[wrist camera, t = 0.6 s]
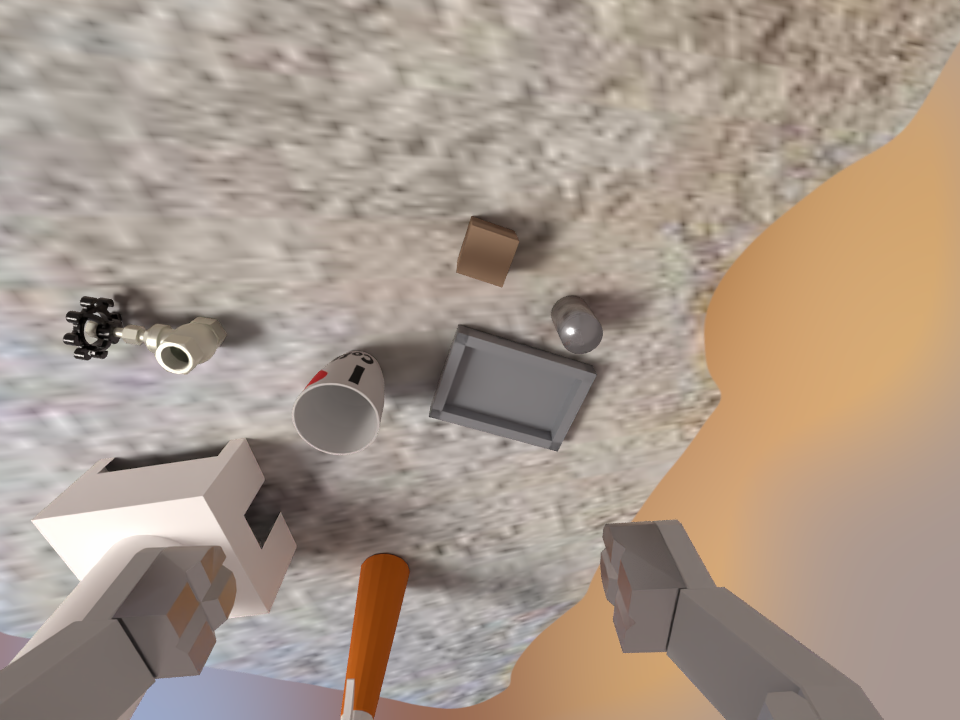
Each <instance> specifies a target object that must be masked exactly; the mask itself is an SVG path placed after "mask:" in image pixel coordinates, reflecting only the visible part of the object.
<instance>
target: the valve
mask: <svg viewBox="0 0 960 720" xmlns="http://www.w3.org/2000/svg"><path fill="white" fill-rule="evenodd" d="M95 303H96V306H95V305H94V304H95ZM80 304H81V306H82V307H83V309H82V311H81V312H76V311H69V312H68V313H67V314H66V320H67V321H68V322H70V323H73V325H74V326H73V331H72V333H67V334H65V335H64V337H63V342H64V343H65V344H67V345H73V346H78V348H77V349H76V350H75V351H74V357H75V358H76V359H81V360H90V359H91V358H92V357H94V358H100V359H104V358H106V357H107V354H108V351H105V350H107V349H108V348H109V347H110V345H111V344H116V343H118V341H119V339H120V338H122V339H123V340H124V341H125V342H126V343H129V344H135V345H141V344H142V343H144V344H145V345H146V346H147V348H148V350H149V351H150V352H152V353H155V354H154V355H155V357H156V359H157V360H158V362H159V363H160V365H161V366H162V367H163V368H164V369H165V370H166V371H168V372H171V373H177V374H188V373H189V372H190V371H192V370H193V369H194V368H195V367H196V366H197V365H198V364H202V363H204V362H206V361H208V360H209V359H210V358H211V357H212V356H213V355H214V353H215V352H216V349H217V348H219V346H220V345H221V343H222V342H223V341H224V339H225V338H226V336H227V334H226V332H225V330H224V329H223V327H222V326H221V324H220V323H219V321H218V320H217V319H212V318H206V317H197V318H196V319H194V320H193V321H191V322H190V323H189V324H184V325H182V326H180V327H178V328H176V329H175V330H174V329H172V328H171V327H170V326H169V325H163V324H155V325H153V326H152V327H151V328H150V329H148V330H146V329H145V328H144V327H143V326H137V325H128V326H126V327H125V328H123V325H122V322H121V321H122V317H121V315H120V314H117V313H110V312H108V310H107V308H108V307H113V306H114V302H113V300H112V299H107V298H99V299H97V298H93V297H87V296H84V297H82V298H81V300H80ZM96 312H97V313H99V314H100V316H101V317H102V318H101V317H99V316H97V315H94V314H93V313H96ZM87 320H88V321H89V322H88V323H87V325H86V333H87V334H88V335H89V336H90V337H94V338H97V339H98V340H97V341H96V342H94V343H92V344H89V343H88V342H87V341H86V339H85V337H84V326H85V323H86V321H87ZM90 350H91V351H90ZM89 351H90V355H91V356H90V355H88V352H89Z"/></svg>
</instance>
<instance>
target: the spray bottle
mask: <svg viewBox="0 0 960 720" xmlns="http://www.w3.org/2000/svg"><path fill="white" fill-rule="evenodd" d="M409 573H410V571H409V568H408V565H407V563H406V562H405V561H404V560H402V559H401V558H399V557H397V556H395V555H391V554H377V555H373V556H371V557H369V558H367V559H366V560H365V562H364V563H363V564H362V565H361V571H360V579H359V586H358V593H357V600H356V608H355V615H354V622H353V629H352V636H351V644H350V651H349V658H348V665H347V673H346V680H345V687H344V694H343V701H342V709H341V716H340V720H374V716H375V712H376V708H377V704H378V700H379V696H380V692H381V687H382V683H383V679H384V675H385V671H386V667H387V663H388V659H389V655H390V651H391V647H392V643H393V639H394V634H395V630H396V626H397V622H398V618H399V614H400V610H401V606H402V602H403V598H404V594H405V590H406V586H407V581H408V577H409Z"/></svg>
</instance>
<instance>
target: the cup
mask: <svg viewBox="0 0 960 720" xmlns="http://www.w3.org/2000/svg"><path fill="white" fill-rule="evenodd" d="M383 407H384V378H383V374H382V371H381V368H380V365H379V363H378V361H377V360H376V359H375V358H374V357H373V356H371V355H370V354H368V353H365V352H362V351H351V352H348V353H346V354H344V355H341V356H339V357H337V358H335V359H334V360H332V361H331V362H330V363H329V364H327V365H326V366H325V367H324V368H323V369H322V370H321V371H319V372H318V373H317V374H316V375H315V376H314V377H313V379H312V380H311V381H310V383H309V384H308V385H307V386H306V388H305V389H304V390H303V391H302V393H301V394H300V395H299V396H298V398H297V399H296V401H295V403H294V405H293V409H292V420H293V424H294V427H295V429H296V431H297V432H298V434H299V435H300V437H301V438H302V439H303V440H304V441H305V442H306V443H308V444H309V445H310V446H312V447H314V448H315V449H317V450H319V451H322V452H325V453H329V454H334V455H348V454H353V453H357V452H359V451H362V450H363V449H365V448H367V447H368V446H369V445H370V444H371V443H372V442H373V441H374V440H375V438H376V436H377V434H378V431H379V427H380V422H381V417H382V412H383Z"/></svg>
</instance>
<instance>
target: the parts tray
mask: <svg viewBox="0 0 960 720" xmlns="http://www.w3.org/2000/svg"><path fill="white" fill-rule="evenodd" d="M596 375H597V374H596V372H595V370H594V368H593V366H592V365H588V364H585V363H582V362H579V361H575V360H572V359H569V358H566V357H562V356H559V355H556V354H553V353H549V352H546V351H543V350H540V349H536V348H533V347H530V346H527V345H523V344H520V343H517V342H514V341H510V340H507V339H504V338H501V337H497V336H494V335H491V334H488V333H484V332H481V331H478V330H475V329H471V328H468V327H465V326H462V325H458V328H457V331H456V333H455V336H454V339H453V342H452V345H451V348H450V351H449V354H448V357H447V360H446V363H445V365H444V368H443V371H442V374H441V377H440V380H439V383H438V386H437V389H436V392H435V395H434V397H433V400H432V403H431V406H430V413H429V417H432V418H435V419H439V420H443V421H446V422H450V423H454V424H457V425H461V426H465V427H469V428H472V429H476V430H480V431H483V432H487V433H491V434H495V435H498V436H502V437H506V438H509V439H513V440H517V441H520V442H524V443H528V444H532V445H535V446H539V447H543V448H546V449H550V450H554V451H557V452H558V450H559V448H560V446H561V444H562V442H563V440H564V438H565V436H566V434H567V432H568V430H569V428H570V426H571V424H572V422H573V420H574V418H575V416H576V414H577V412H578V411H579V409H580V407H581V405H582V403H583V401H584V399H585V397H586V395H587V393H588V391H589V389H590V387H591V385H592V383H593V381H594V379H595V377H596Z"/></svg>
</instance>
